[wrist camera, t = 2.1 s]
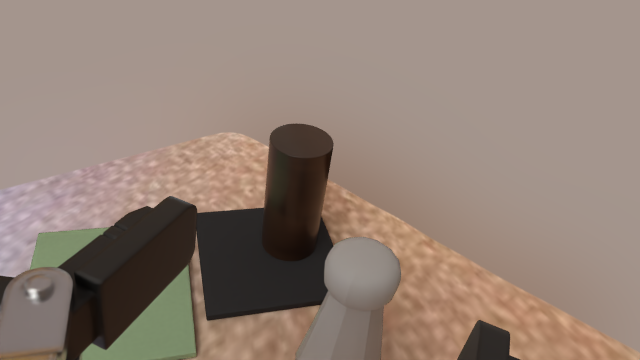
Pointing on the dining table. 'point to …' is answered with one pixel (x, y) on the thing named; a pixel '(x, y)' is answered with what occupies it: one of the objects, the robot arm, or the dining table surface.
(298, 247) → the dark brown cylinder
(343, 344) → the salt shaker
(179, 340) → the sage mat
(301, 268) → the dark mat
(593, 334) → the dining table surface
